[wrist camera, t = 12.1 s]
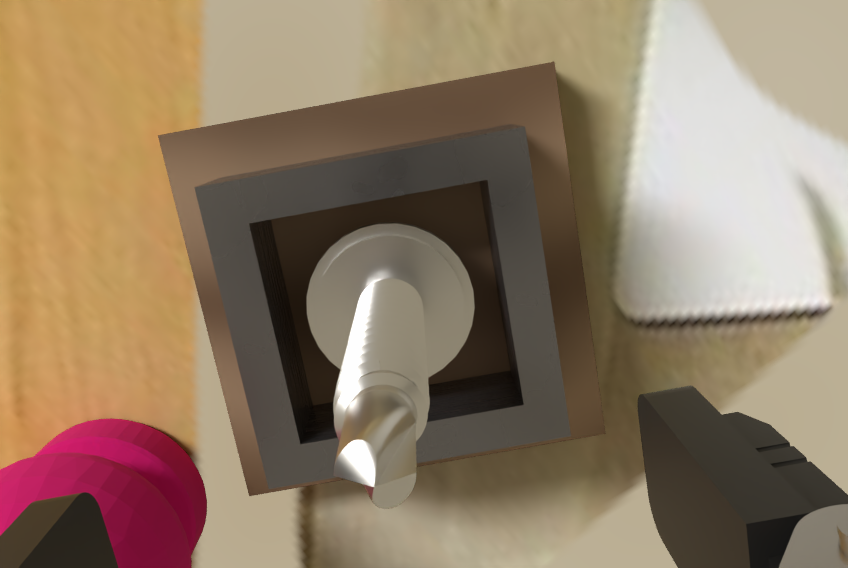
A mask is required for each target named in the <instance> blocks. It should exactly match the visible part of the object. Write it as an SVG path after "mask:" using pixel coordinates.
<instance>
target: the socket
mask: <svg viewBox="0 0 848 568" xmlns="http://www.w3.org/2000/svg"><path fill="white" fill-rule="evenodd" d="M478 181H480V188H481V194H482V200H483V206H484V212H485V218H486V224H487V230H488V236H489V242H490V249H491V255H492V261H493V267H494V273H495V279H496V285H497V291H498V297H499V303H500V310H501V316H502V322H503V328H504V334H505V340H506V346H507V352H508V358H509V364H510V370H509V371H504V372H498V373H493V374H487V375H481V376H476V377H470V378H464V379H459V380H453V381H447V382H442V383H436V384H431V385H429V397H430V405H429V411H428V419H427V424H426V427H425V429H424V431H423V433H422V435H421V436H420V438H419V439H418V440H417V441H416V463H421V462H427V461H433V460H439V459H444V458H450V457H456V456H461V455H467V454H473V453H478V452H484V451H490V450H496V449H501V448H507V447H513V446H518V445H524V444H530V443H535V442H541V441H547V440H553V439H558V438H564V437H570V436H571V432H570V425H569V419H568V412H567V405H566V398H565V392H564V385H563V378H562V372H561V365H560V358H559V351H558V345H557V338H556V331H555V324H554V318H553V311H552V304H551V297H550V291H549V284H548V277H547V271H546V264H545V257H544V250H543V244H542V237H541V230H540V223H539V217H538V210H537V203H536V196H535V190H534V183H533V176H532V170H531V163H530V156H529V149H528V143H527V136H526V129H525V126H519V125H514V124H508V125H502V126H497V127H492V128H486V129H481V130H475V131H470V132H464V133H459V134H454V135H448V136H443V137H437V138H432V139H427V140H421V141H416V142H410V143H405V144H399V145H394V146H389V147H383V148H378V149H372V150H367V151H362V152H356V153H351V154H345V155H340V156H334V157H329V158H324V159H318V160H313V161H307V162H302V163H296V164H291V165H286V166H280V167H275V168H269V169H264V170H259V171H253V172H248V173H242V174H237V175H231V176H226V177H221V178H218V179H215V180H213V181H210V182H207V183H205V184H202V185H199V186H197V187H194V188H195V192H196V196H197V200H198V204H199V209H200V213H201V217H202V221H203V225H204V229H205V233H206V237H207V241H208V245H209V249H210V253H211V257H212V261H213V265H214V269H215V273H216V277H217V282H218V286H219V290H220V294H221V298H222V302H223V306H224V310H225V314H226V318H227V322H228V326H229V330H230V334H231V338H232V342H233V346H234V350H235V354H236V359H237V363H238V367H239V371H240V375H241V379H242V383H243V387H244V391H245V395H246V399H247V403H248V407H249V411H250V415H251V419H252V423H253V427H254V432H255V436H256V440H257V444H258V448H259V452H260V456H261V460H262V464H263V468H264V472H265V476H266V480H267V484H268V488H269V489H273V488H279V487H285V486H290V485H296V484H302V483H307V482H313V481H319V480H325V479H330V478H336V476H334V465H335V460H336V455H337V451H338V446H339V439H338V437H337V434H336V431H335V427H334V413H333V402H329V403H324V404H318V405H313V403H312V399H311V394H310V390H309V386H308V381H307V377H306V372H305V368H304V364H303V359H302V355H301V350H300V346H299V341H298V337H297V333H296V328H295V324H294V319H293V315H292V311H291V306H290V302H289V297H288V293H287V289H286V284H285V280H284V275H283V271H282V266H281V262H280V258H279V253H278V249H277V244H276V240H275V236H274V231H273V227H272V222H271V219H276V218H281V217H287V216H292V215H298V214H303V213H309V212H314V211H320V210H325V209H331V208H336V207H342V206H347V205H352V204H358V203H363V202H369V201H374V200H380V199H385V198H391V197H396V196H402V195H407V194H413V193H418V192H423V191H429V190H434V189H440V188H445V187H451V186H456V185H462V184H467V183H473V182H478Z"/></svg>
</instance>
